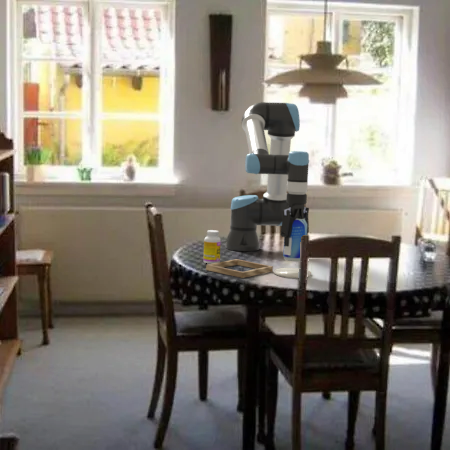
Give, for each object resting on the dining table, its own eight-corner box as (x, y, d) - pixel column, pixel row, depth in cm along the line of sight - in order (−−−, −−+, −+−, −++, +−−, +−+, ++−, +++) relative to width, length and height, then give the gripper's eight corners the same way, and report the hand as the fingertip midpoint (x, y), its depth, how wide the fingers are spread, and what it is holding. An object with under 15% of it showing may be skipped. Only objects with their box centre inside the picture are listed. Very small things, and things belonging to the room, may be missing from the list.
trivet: (288, 268, 309) (288, 266, 309) (318, 274, 300) (318, 272, 300) (266, 273, 299) (266, 271, 299) (296, 280, 290) (297, 277, 290)
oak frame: (236, 264, 315) (236, 259, 314) (272, 271, 303) (272, 266, 303) (206, 269, 301) (206, 264, 301) (242, 277, 290) (242, 272, 289)
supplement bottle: (217, 265, 311) (219, 232, 310) (201, 263, 313) (202, 231, 311) (221, 261, 318) (222, 230, 316) (205, 260, 319) (206, 229, 317)
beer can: (280, 260, 296) (282, 218, 294) (286, 256, 304) (288, 215, 302) (302, 262, 294) (304, 220, 291) (307, 259, 301) (310, 217, 299)
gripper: (304, 190, 305) (301, 249, 308) (272, 193, 290) (269, 255, 293) (320, 192, 300) (317, 251, 303) (288, 195, 285) (285, 258, 288)
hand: (293, 253), depth 298 cm, fingers closed on beer can, 7 cm apart
